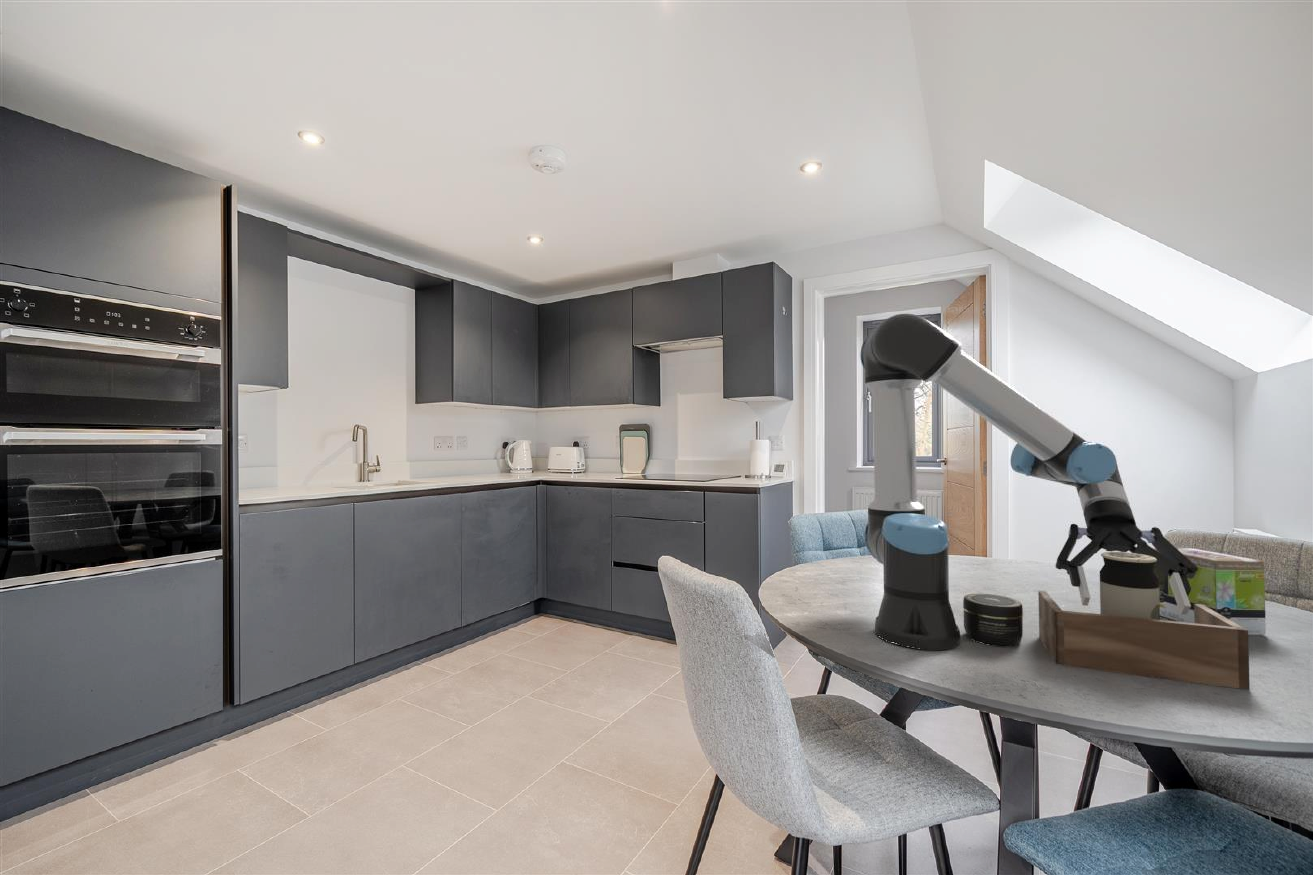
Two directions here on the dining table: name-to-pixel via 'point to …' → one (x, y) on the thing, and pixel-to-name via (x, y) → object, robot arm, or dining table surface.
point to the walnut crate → (1148, 645)
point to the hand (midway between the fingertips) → (1134, 605)
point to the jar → (993, 619)
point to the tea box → (1220, 589)
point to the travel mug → (1129, 586)
